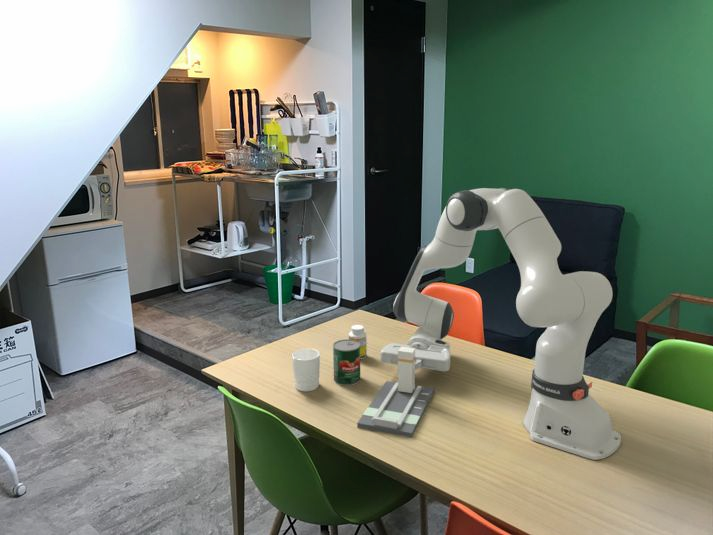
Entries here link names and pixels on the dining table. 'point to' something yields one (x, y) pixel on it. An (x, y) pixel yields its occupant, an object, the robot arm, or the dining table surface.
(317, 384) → the white cup
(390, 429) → the grey slider track base
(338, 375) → the canned tomato
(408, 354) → the fader
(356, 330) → the supplement bottle
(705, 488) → the dining table surface
